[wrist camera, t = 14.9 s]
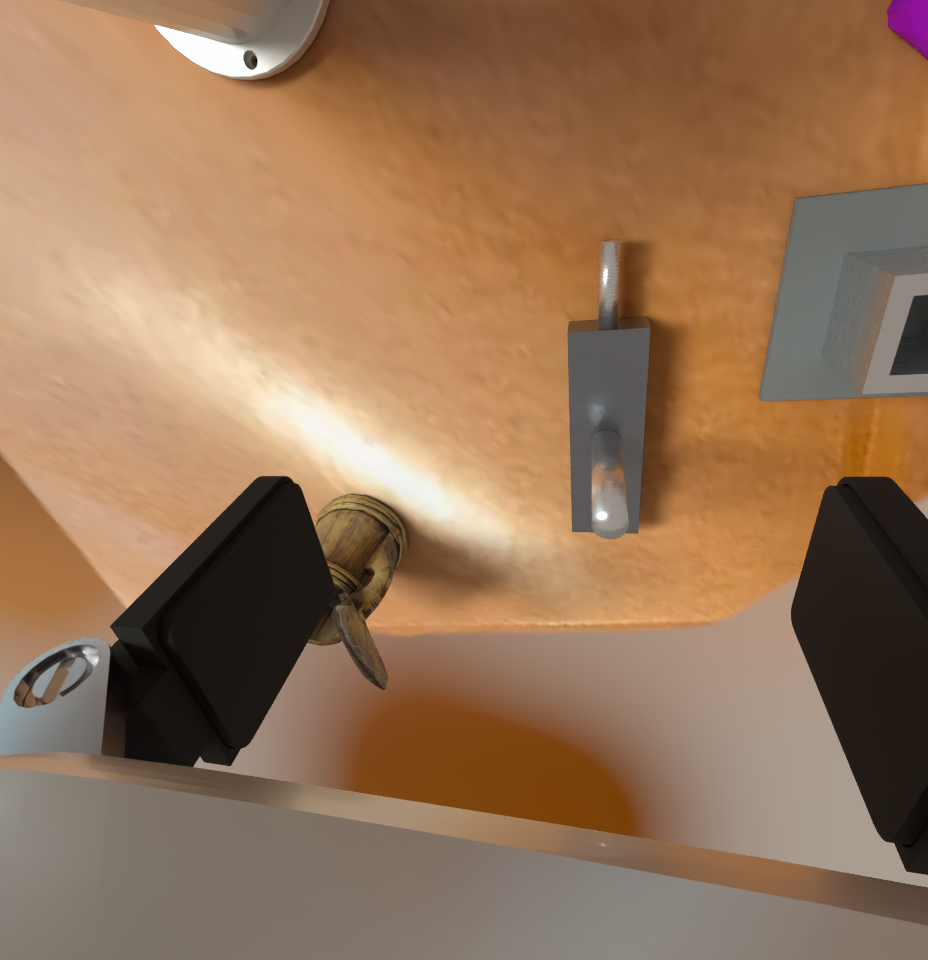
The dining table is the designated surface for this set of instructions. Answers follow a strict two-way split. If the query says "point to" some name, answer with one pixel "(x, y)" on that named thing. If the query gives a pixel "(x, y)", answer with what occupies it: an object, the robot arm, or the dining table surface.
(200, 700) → the robot arm
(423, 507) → the dining table surface
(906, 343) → the steel collar
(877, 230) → the slate pad
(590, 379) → the block
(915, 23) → the cloth
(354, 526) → the wooden mug
